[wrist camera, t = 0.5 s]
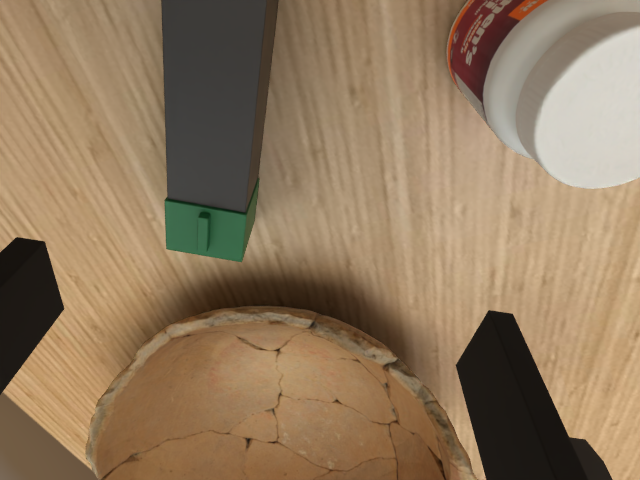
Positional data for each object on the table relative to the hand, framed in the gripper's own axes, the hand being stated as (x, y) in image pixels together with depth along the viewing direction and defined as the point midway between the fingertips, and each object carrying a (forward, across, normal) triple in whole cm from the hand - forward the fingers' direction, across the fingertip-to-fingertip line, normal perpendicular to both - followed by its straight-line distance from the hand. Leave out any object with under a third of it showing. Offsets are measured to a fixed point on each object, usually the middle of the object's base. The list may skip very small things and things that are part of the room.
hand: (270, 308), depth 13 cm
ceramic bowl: (+15, +2, -26) cm, 30 cm away
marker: (+15, -5, 0) cm, 16 cm away
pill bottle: (+15, +10, +6) cm, 19 cm away
